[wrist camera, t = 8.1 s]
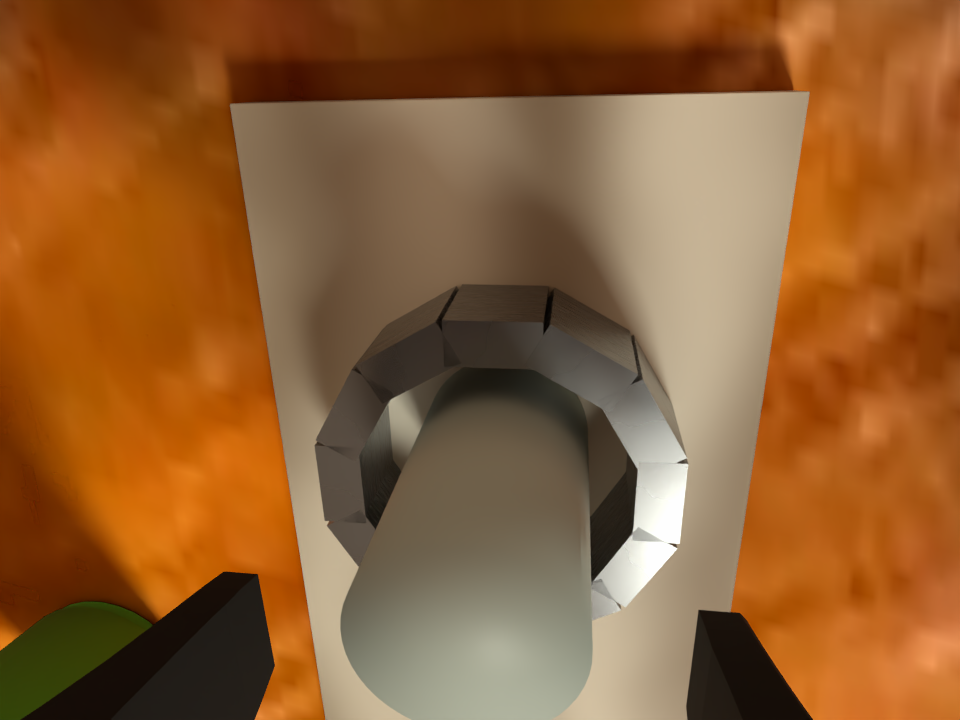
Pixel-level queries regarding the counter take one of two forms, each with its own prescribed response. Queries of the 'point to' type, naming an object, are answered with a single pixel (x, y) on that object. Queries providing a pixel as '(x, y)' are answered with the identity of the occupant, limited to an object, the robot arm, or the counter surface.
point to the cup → (61, 653)
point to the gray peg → (481, 558)
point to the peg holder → (529, 330)
